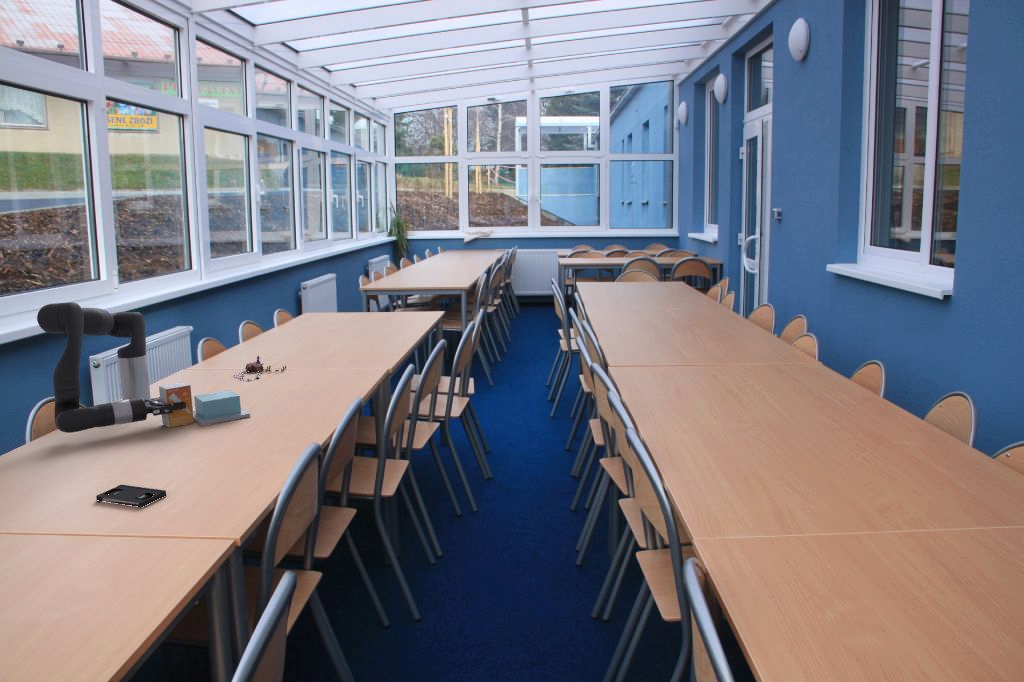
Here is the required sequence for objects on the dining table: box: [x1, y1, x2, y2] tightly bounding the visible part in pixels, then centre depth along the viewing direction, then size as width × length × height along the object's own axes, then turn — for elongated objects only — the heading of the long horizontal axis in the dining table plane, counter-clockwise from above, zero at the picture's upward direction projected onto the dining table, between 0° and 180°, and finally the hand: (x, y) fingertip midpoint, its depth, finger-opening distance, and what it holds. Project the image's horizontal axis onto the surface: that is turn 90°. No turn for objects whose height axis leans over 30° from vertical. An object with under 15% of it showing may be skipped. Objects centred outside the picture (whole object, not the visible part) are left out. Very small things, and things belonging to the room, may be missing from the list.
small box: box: [158, 381, 195, 428], centre depth 250 cm, size 8×6×13 cm
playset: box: [233, 355, 287, 381], centre depth 320 cm, size 25×19×7 cm
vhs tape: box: [95, 484, 167, 507], centre depth 188 cm, size 14×8×2 cm, turn 71°
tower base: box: [193, 389, 251, 427], centre depth 258 cm, size 16×16×7 cm
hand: (182, 402), depth 251 cm, fingers open, 8 cm apart
